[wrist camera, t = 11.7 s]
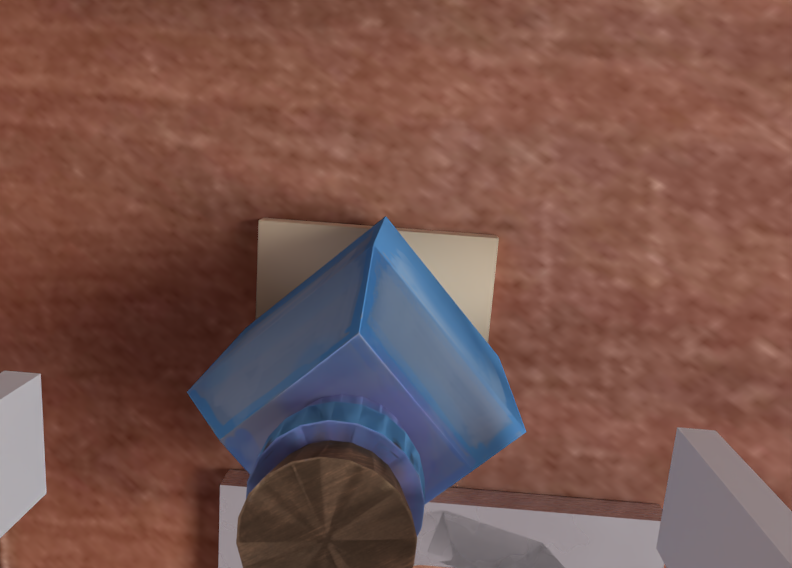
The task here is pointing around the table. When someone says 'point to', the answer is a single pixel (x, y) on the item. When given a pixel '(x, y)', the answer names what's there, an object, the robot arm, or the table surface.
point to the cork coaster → (321, 241)
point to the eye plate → (503, 530)
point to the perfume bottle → (355, 410)
